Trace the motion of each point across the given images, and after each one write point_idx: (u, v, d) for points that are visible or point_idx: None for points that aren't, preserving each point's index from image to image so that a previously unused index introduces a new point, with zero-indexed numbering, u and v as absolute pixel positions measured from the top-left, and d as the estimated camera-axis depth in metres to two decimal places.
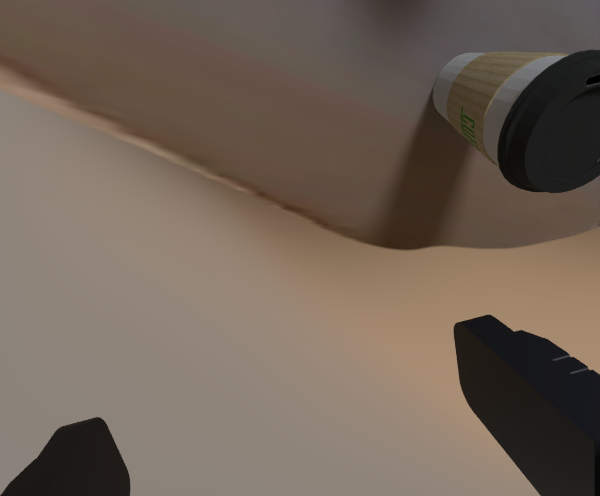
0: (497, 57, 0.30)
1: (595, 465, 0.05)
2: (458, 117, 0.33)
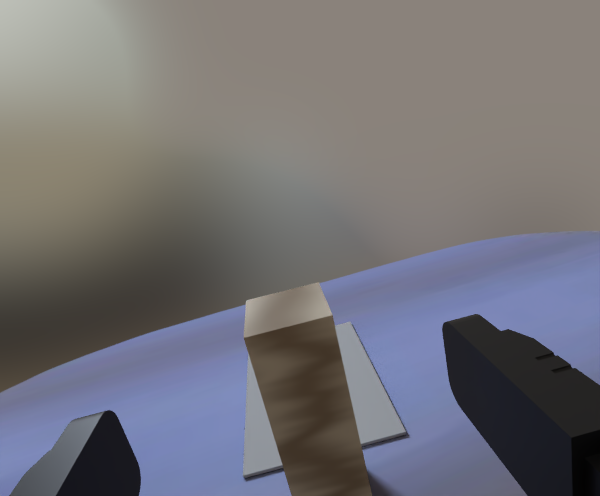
0: None
1: (572, 460, 0.05)
2: None
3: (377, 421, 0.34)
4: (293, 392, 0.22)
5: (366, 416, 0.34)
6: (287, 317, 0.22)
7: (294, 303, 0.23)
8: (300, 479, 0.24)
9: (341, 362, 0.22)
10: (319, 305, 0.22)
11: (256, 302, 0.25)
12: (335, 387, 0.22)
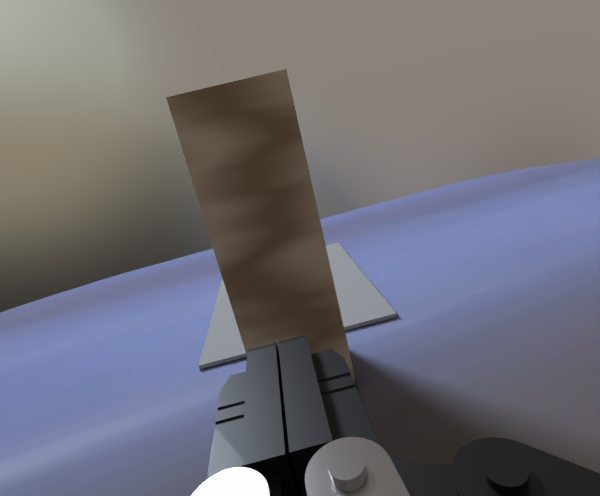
0: None
1: (294, 472, 0.06)
2: None
3: (363, 308, 0.28)
4: (238, 188, 0.17)
5: (350, 306, 0.29)
6: None
7: None
8: (254, 322, 0.18)
9: (301, 144, 0.16)
10: None
11: None
12: (294, 183, 0.17)
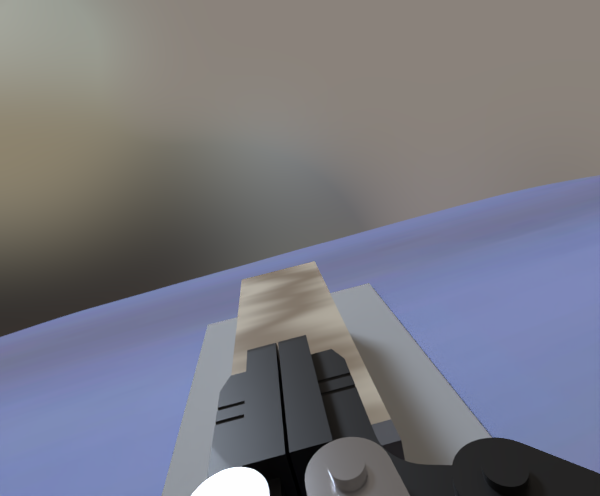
0: None
1: (294, 472, 0.06)
2: None
3: (453, 459, 0.15)
4: (270, 297, 0.21)
5: (424, 446, 0.16)
6: None
7: None
8: None
9: (320, 276, 0.23)
10: None
11: None
12: (313, 289, 0.21)
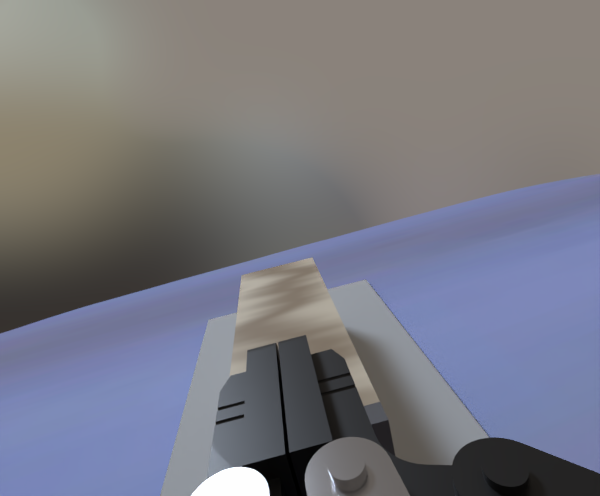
0: None
1: (294, 472, 0.06)
2: None
3: (441, 443, 0.16)
4: (269, 292, 0.22)
5: (415, 432, 0.17)
6: None
7: None
8: None
9: (317, 272, 0.23)
10: None
11: None
12: (310, 284, 0.22)
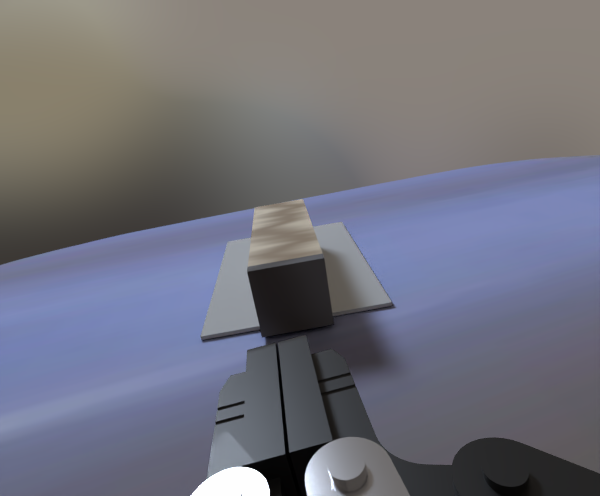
0: None
1: (294, 472, 0.06)
2: None
3: (360, 294, 0.29)
4: (273, 215, 0.35)
5: (348, 290, 0.30)
6: None
7: None
8: (261, 240, 0.29)
9: (304, 206, 0.36)
10: None
11: None
12: (298, 212, 0.35)
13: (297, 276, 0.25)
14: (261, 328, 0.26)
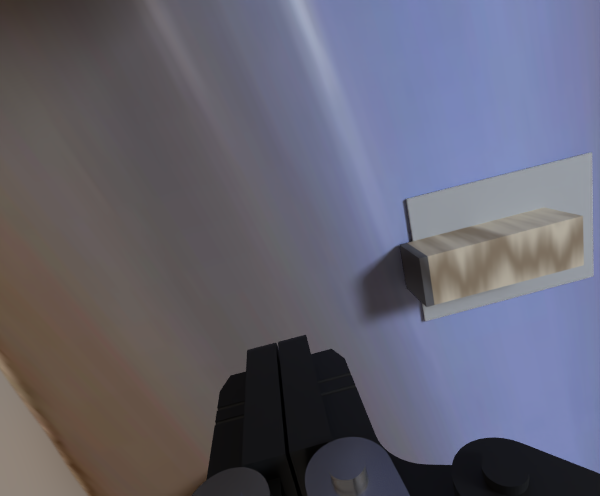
0: None
1: (294, 471, 0.06)
2: None
3: None
4: (541, 245, 0.36)
5: None
6: None
7: None
8: (476, 252, 0.35)
9: (554, 272, 0.37)
10: None
11: None
12: (538, 269, 0.36)
13: (419, 285, 0.37)
14: (402, 247, 0.39)
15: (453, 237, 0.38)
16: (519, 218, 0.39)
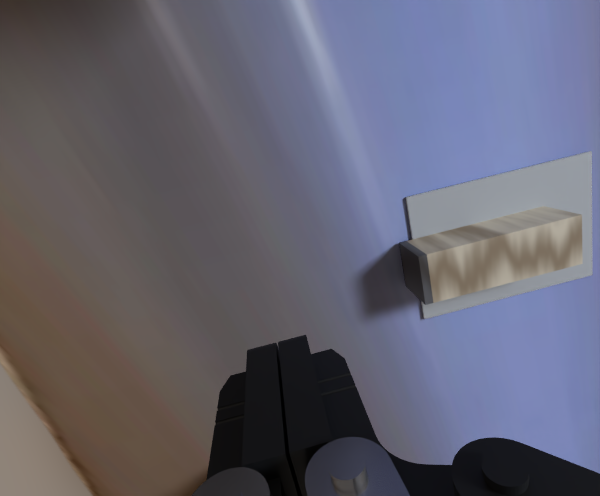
0: None
1: (294, 472, 0.06)
2: None
3: None
4: (540, 244, 0.36)
5: None
6: None
7: None
8: (475, 250, 0.35)
9: (553, 270, 0.37)
10: None
11: None
12: (537, 268, 0.37)
13: (418, 283, 0.37)
14: (401, 245, 0.39)
15: (452, 235, 0.38)
16: (518, 217, 0.39)
